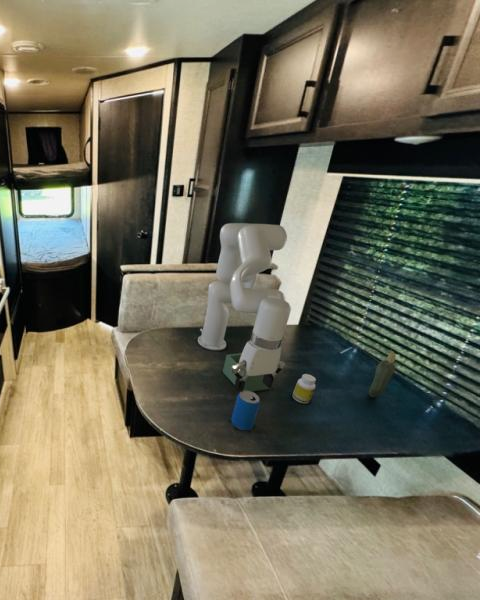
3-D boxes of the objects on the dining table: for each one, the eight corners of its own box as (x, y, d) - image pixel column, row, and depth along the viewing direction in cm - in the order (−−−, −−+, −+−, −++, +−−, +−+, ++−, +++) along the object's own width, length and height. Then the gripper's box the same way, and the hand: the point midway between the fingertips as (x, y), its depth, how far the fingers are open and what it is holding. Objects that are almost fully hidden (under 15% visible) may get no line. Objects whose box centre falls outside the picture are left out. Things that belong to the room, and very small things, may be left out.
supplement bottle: (309, 406, 111) (317, 384, 107) (291, 399, 114) (299, 378, 110) (310, 397, 115) (318, 376, 111) (292, 391, 118) (300, 370, 114)
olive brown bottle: (380, 403, 113) (404, 357, 104) (365, 399, 114) (388, 354, 106) (376, 395, 116) (399, 350, 108) (361, 392, 118) (383, 347, 109)
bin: (222, 372, 129) (226, 354, 126) (249, 368, 131) (254, 351, 127) (241, 392, 118) (246, 374, 114) (271, 388, 120) (277, 370, 116)
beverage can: (249, 435, 100) (258, 406, 95) (228, 425, 104) (236, 397, 99) (254, 422, 105) (262, 395, 100) (233, 413, 108) (240, 386, 103)
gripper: (282, 330, 95) (268, 376, 102) (230, 336, 92) (220, 382, 99) (302, 343, 88) (286, 391, 95) (247, 349, 85) (234, 398, 93)
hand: (252, 387), depth 97 cm, fingers open, 9 cm apart
